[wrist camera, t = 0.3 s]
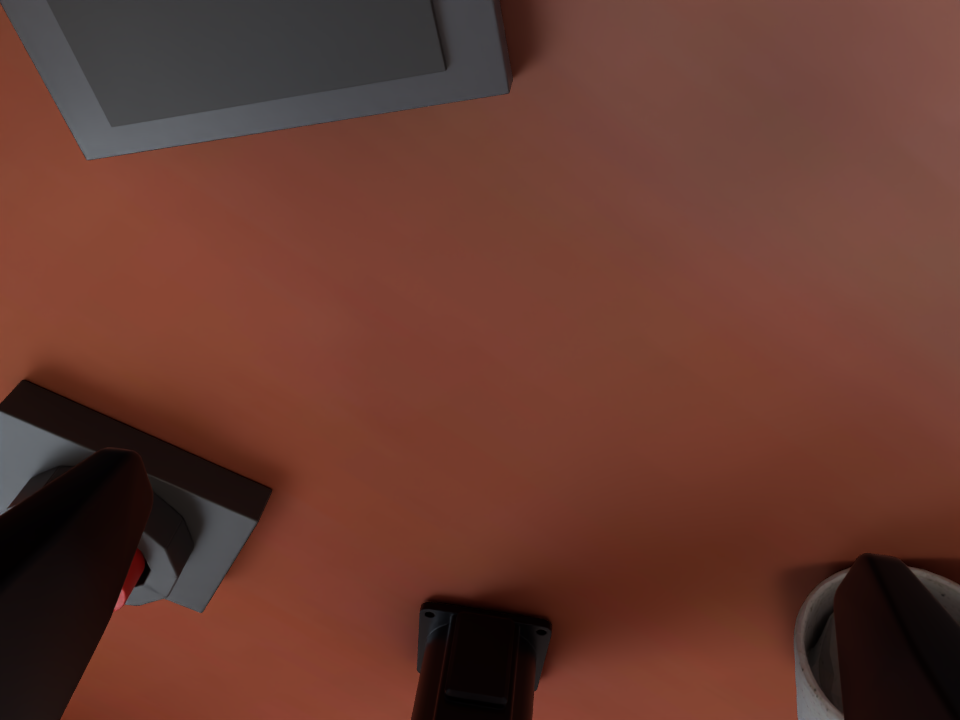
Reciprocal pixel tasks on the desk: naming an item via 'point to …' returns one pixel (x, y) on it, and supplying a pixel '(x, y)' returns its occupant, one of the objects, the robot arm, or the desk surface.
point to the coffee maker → (252, 63)
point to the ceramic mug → (819, 643)
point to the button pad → (173, 477)
